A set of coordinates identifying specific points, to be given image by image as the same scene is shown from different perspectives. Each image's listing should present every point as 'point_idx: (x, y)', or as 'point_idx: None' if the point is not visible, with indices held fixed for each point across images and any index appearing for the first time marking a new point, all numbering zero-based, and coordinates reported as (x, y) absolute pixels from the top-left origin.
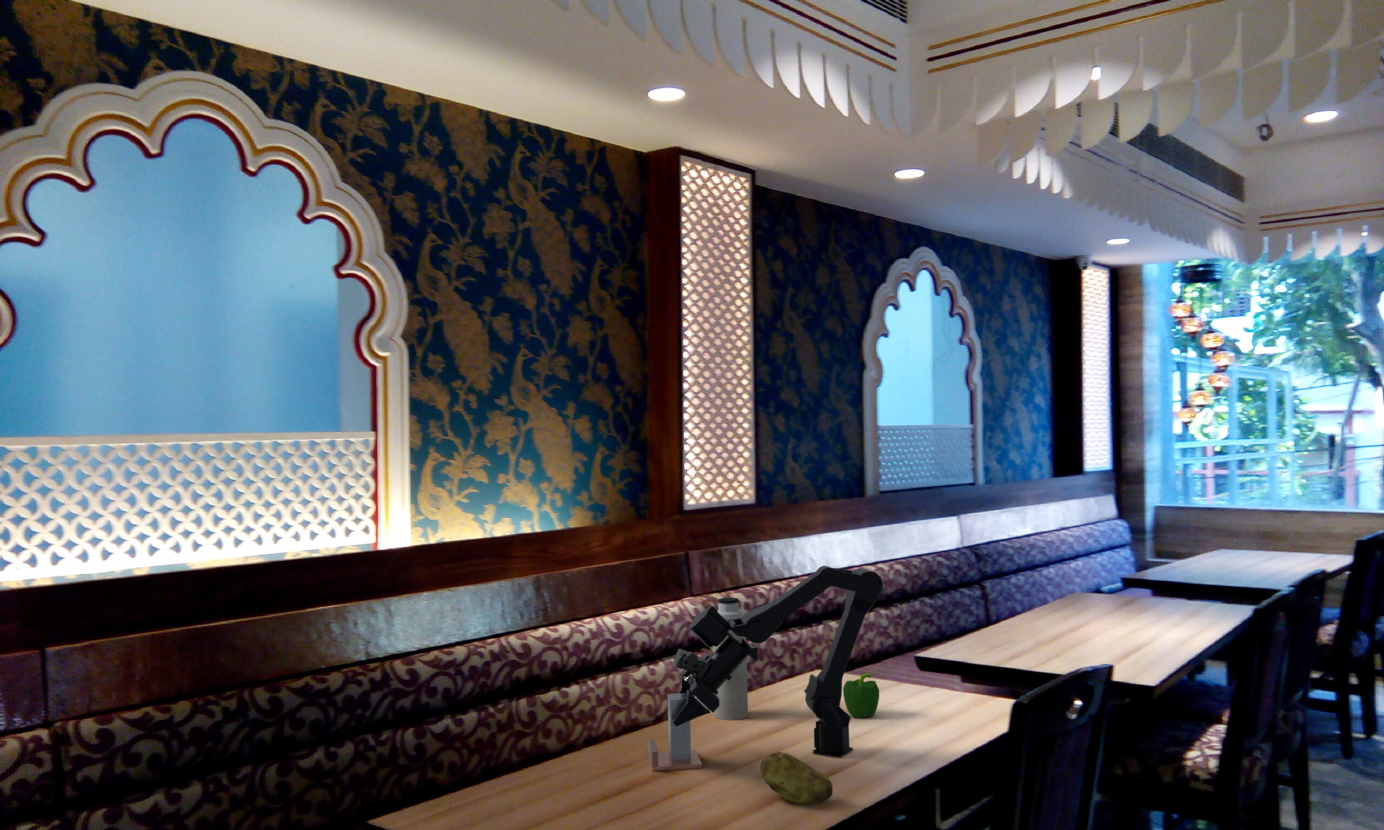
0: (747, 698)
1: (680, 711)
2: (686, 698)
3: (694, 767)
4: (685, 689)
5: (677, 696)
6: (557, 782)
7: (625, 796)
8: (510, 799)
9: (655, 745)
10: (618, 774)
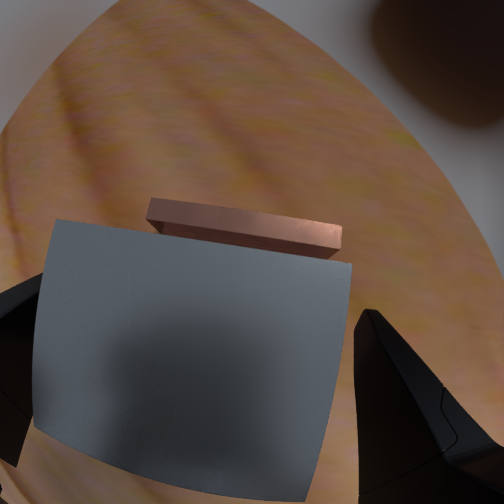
0: None
1: (15, 294)
2: (54, 412)
3: None
4: (427, 490)
5: (166, 360)
6: (195, 42)
7: (54, 140)
8: (155, 10)
9: (227, 228)
10: (184, 134)
